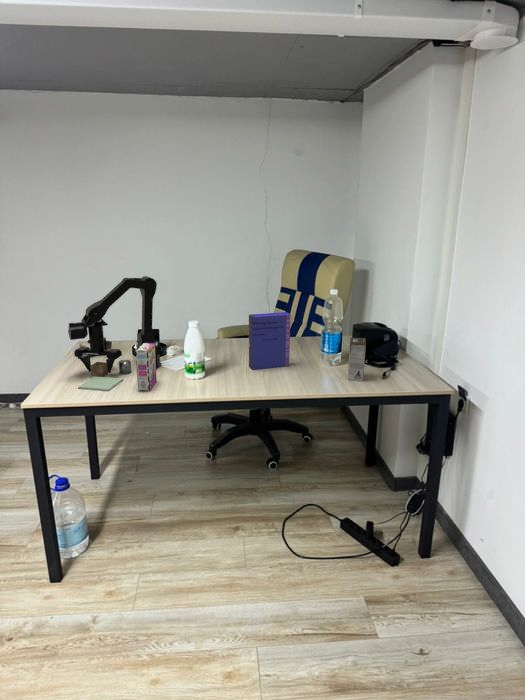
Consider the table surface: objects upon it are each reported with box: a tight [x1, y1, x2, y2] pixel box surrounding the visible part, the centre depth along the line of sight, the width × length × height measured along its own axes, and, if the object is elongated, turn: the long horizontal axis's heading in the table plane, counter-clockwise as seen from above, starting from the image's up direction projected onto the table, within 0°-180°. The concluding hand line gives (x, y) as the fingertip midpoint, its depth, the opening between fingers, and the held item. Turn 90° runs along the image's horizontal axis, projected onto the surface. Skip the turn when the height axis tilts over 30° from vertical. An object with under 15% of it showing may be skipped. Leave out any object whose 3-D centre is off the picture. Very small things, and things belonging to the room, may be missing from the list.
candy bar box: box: [135, 342, 158, 392], centre depth 184 cm, size 11×5×16 cm, turn 178°
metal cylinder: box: [118, 359, 133, 376], centre depth 201 cm, size 5×5×5 cm
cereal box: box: [248, 311, 291, 371], centre depth 207 cm, size 17×5×24 cm, turn 108°
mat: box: [77, 376, 124, 392], centre depth 188 cm, size 13×12×1 cm
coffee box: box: [347, 337, 367, 382], centre depth 195 cm, size 9×6×16 cm
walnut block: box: [90, 361, 110, 378], centre depth 198 cm, size 5×5×5 cm
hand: (100, 372), depth 198 cm, fingers open, 9 cm apart
